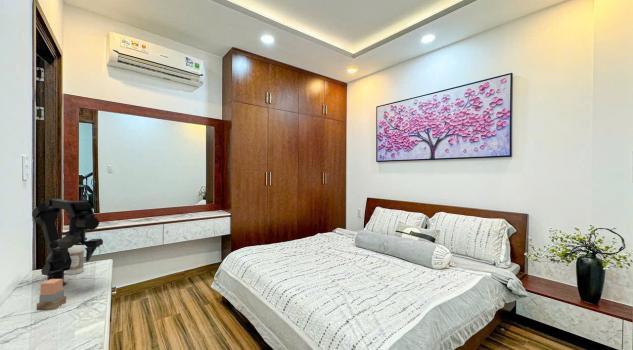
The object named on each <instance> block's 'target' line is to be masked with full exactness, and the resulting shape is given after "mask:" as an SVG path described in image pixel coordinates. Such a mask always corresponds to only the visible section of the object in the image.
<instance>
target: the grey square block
mask: <svg viewBox="0 0 633 350" xmlns="http://www.w3.org/2000/svg"><path fill="white" fill-rule="evenodd" d="M64 296H65V288H63V290H61V291H59V292H57V293H55V294H53V295H40V294H39V301H38V303H47V302H55V301H57V300H59V299H60V298H62V297H64Z"/></svg>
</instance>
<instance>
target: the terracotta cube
mask: <svg viewBox="0 0 633 350" xmlns="http://www.w3.org/2000/svg"><path fill="white" fill-rule="evenodd" d="M63 286H64V285H63V279H50V280H48V281H47V280H45V281H44V282H41V283H40V293H39V296H40V295H53V294H55V293H57V292H59V291H61V290H63V289H64V288H63Z"/></svg>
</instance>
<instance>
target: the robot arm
mask: <svg viewBox="0 0 633 350" xmlns="http://www.w3.org/2000/svg"><path fill="white" fill-rule="evenodd" d="M62 210H64V211H65V213H66V214H69V215H67V217H66V218H67V219H69V221H68V230H67V231H66V233H65V236H63V237H61V238H60V236H59V235H60V234H59V232H58V227H57V223H56V221H57V220H58V218H59V213H60V212H61V211H62ZM31 216H32V218H33V220H34V223H36V224H38V225H39V226H40V227H41V231H42V233H43V234H42V235H43V237H44V241H45V245H46V248H47V252H48V255H47V256H46V259H45V264H44V266H43V267H42V268H41V271H40V272H41V275H44V276H47V277H46V278H47V280H46V281H48V280H50V279H63V286H65V285H67V282H65V272H66V271H67V270H70V267H71V263H72V260H71V257H70V254H69V252H68V248H71V247H73V245H82V246H85V248H84V250H85V251H86V254H85V261H86V263H88V262H90V259H91V258H92V256H93V254H94V252H95V250H96V249H97V248H99V247H100V246H102V245H103V244H104V240H103V239H102V238H92V239H88V237H86V232H88V231H93V230H95V229H97V228H98V227H99V225H100V221H99V219H98V218H97V217H95V214H94V210H93V208H92V206H91V205H90V203H89V202H88V200H78V201H77V200H75V201H73V200H69V199H67V200H66V199H62V198H59V197H58V198H57V197H56V198H48V199H46V200H45V201H44V202H42V203H41V204H39V205H36V207H35V208H34V209H33V211H32V212H31Z"/></svg>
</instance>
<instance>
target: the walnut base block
mask: <svg viewBox="0 0 633 350" xmlns="http://www.w3.org/2000/svg"><path fill="white" fill-rule="evenodd" d="M66 303H67V295H66V296H65V295H64V297H62V298H60V299H59V300H57V301H55V302H47V303H39V302H37V303H36V310H40V311H54V310H55V311H56V309H58V308H59V306H60V307H61V306H63V305H64V304H66ZM62 304H63V305H62Z"/></svg>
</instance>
